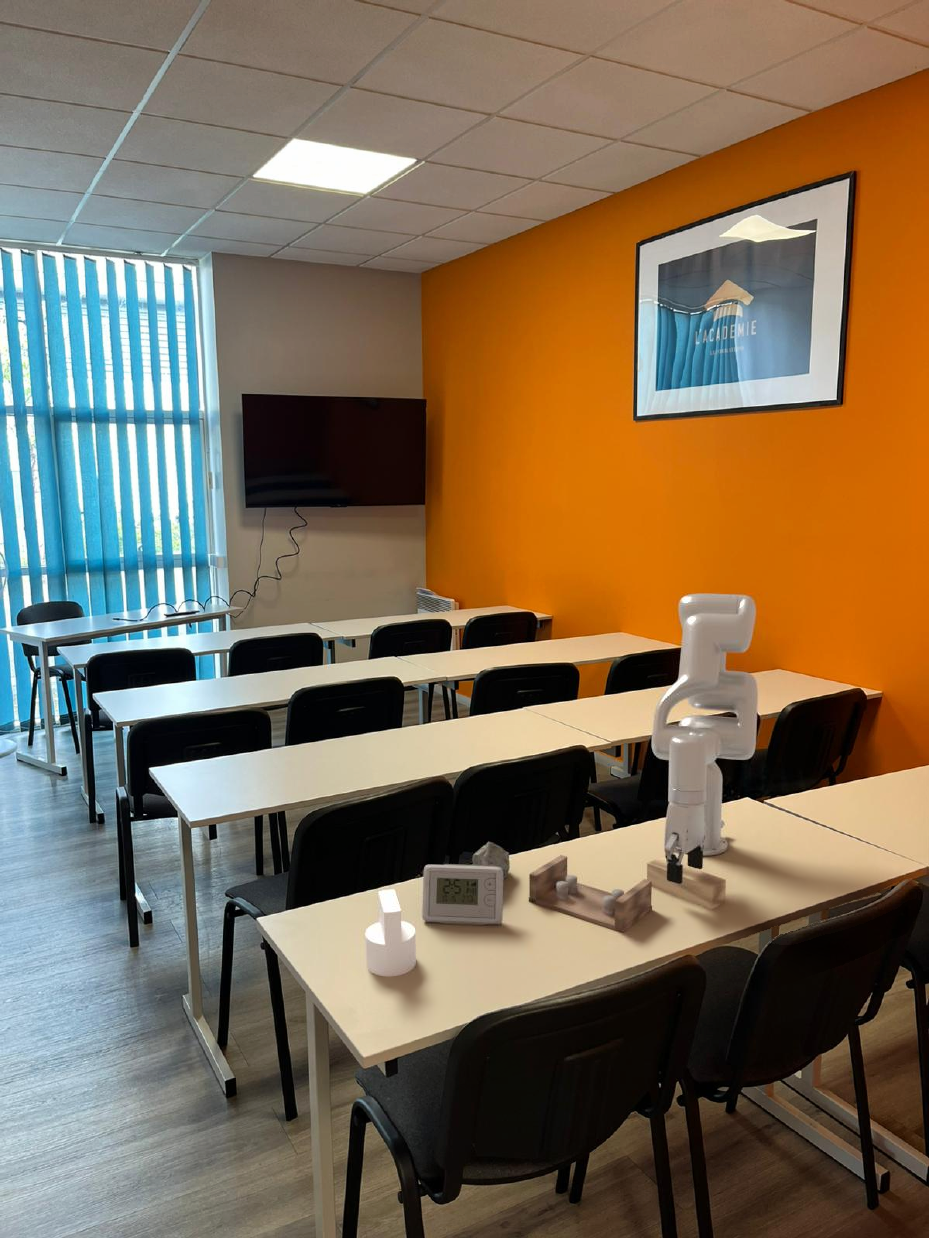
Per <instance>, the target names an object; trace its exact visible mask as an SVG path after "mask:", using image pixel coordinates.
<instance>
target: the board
mask: <svg viewBox="0 0 929 1238" xmlns="http://www.w3.org/2000/svg"><path fill="white" fill-rule="evenodd" d="M681 864H682V865H683V877H682V883H681V884H678V883H674V882H670V881H668V880H667V862H666V857H663V856H659V857H658V858H655V859H654V860H651V861H649V862H647V863H646V880H650V881H652V887H653V888H655V889H658V890H660V891H663V892H666V893H669V894H671V895H673V896H676V897H678V898H681V899H684V900H686V901H688V902H691V903H694V904H696V905H698V906H701V907H704V908H707V909H709V910H713V909H715V908H717V907H718V906H720V905H722V904H723V903H725V902H726V890H727V889H726V888H727V887H726V886H727V885H726V884H727V881H726V879H724V878H721V877H719V876H716V875H713V874H711V873H707V872H706V871H702V870H701V869H697V868H693V867H689V866H688V865H685V864H683V863H681Z"/></svg>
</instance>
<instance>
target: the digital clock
mask: <svg viewBox="0 0 929 1238" xmlns="http://www.w3.org/2000/svg"><path fill="white" fill-rule="evenodd" d="M422 881H423V883H422V884H423V885H422V907H421V909H422V910H421V911H422V913H421V914H422V915H421V917H422V920H423V921H424V922H427V923H428V922H430V923H439V924H446V925H447V924H449V925H470V926H471V925H474V926H476V925H477V926H485V925H500V924H501V923H502V922H503V914H504V913H503V912H504V911H503V910H504V904H503V903H504V878H503V870H502V868H500V867H490V866H483V865H473V864H455V863H453V864H452V863H450V864H449V863H445V864H426V865H425V866H424V868H423V879H422Z"/></svg>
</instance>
